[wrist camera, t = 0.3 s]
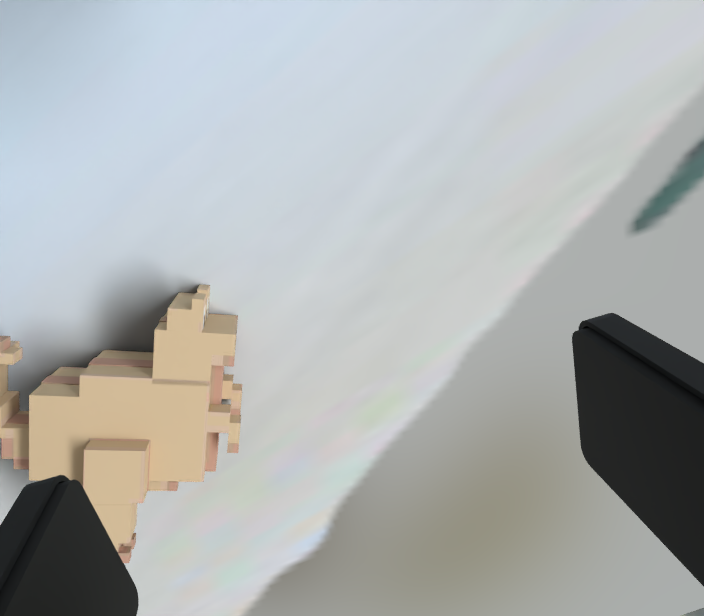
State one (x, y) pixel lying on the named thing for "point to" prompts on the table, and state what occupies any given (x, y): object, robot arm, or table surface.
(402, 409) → the table surface
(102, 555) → the robot arm
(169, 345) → the toy
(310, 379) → the table surface
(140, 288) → the table surface
